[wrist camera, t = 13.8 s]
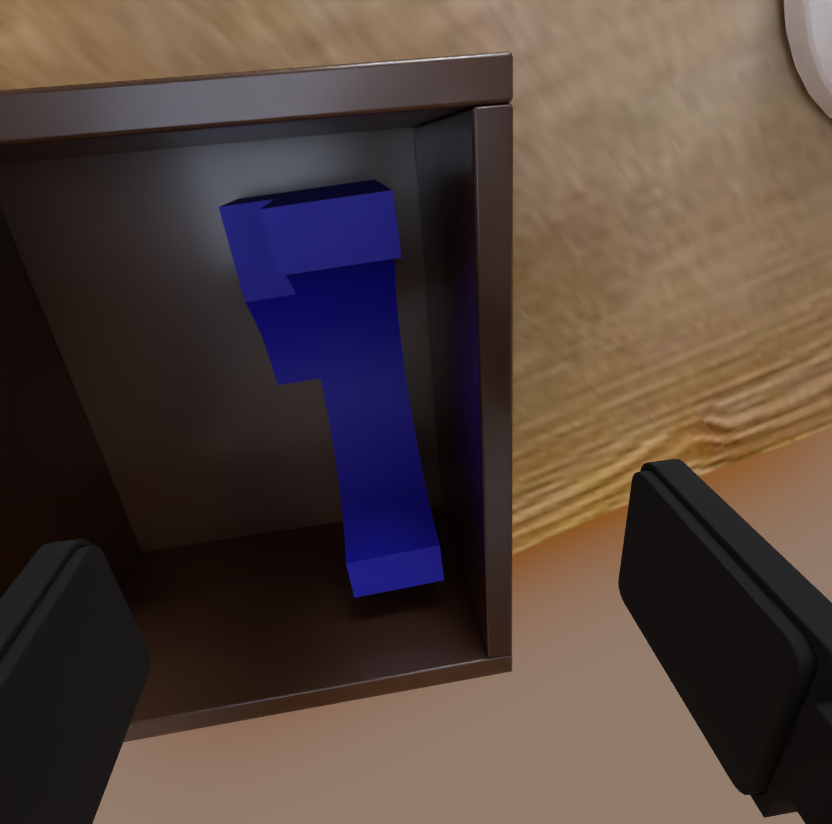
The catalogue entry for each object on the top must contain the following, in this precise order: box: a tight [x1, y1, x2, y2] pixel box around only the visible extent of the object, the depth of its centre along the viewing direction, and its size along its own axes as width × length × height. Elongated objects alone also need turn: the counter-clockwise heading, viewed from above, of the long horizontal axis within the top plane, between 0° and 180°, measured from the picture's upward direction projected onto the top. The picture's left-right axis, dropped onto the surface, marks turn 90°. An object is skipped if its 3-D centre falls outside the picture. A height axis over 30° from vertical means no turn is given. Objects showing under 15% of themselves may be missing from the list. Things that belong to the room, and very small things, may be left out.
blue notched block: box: [219, 179, 444, 598], centre depth 17 cm, size 12×4×6 cm, turn 7°
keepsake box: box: [0, 52, 513, 742], centre depth 16 cm, size 15×17×9 cm
